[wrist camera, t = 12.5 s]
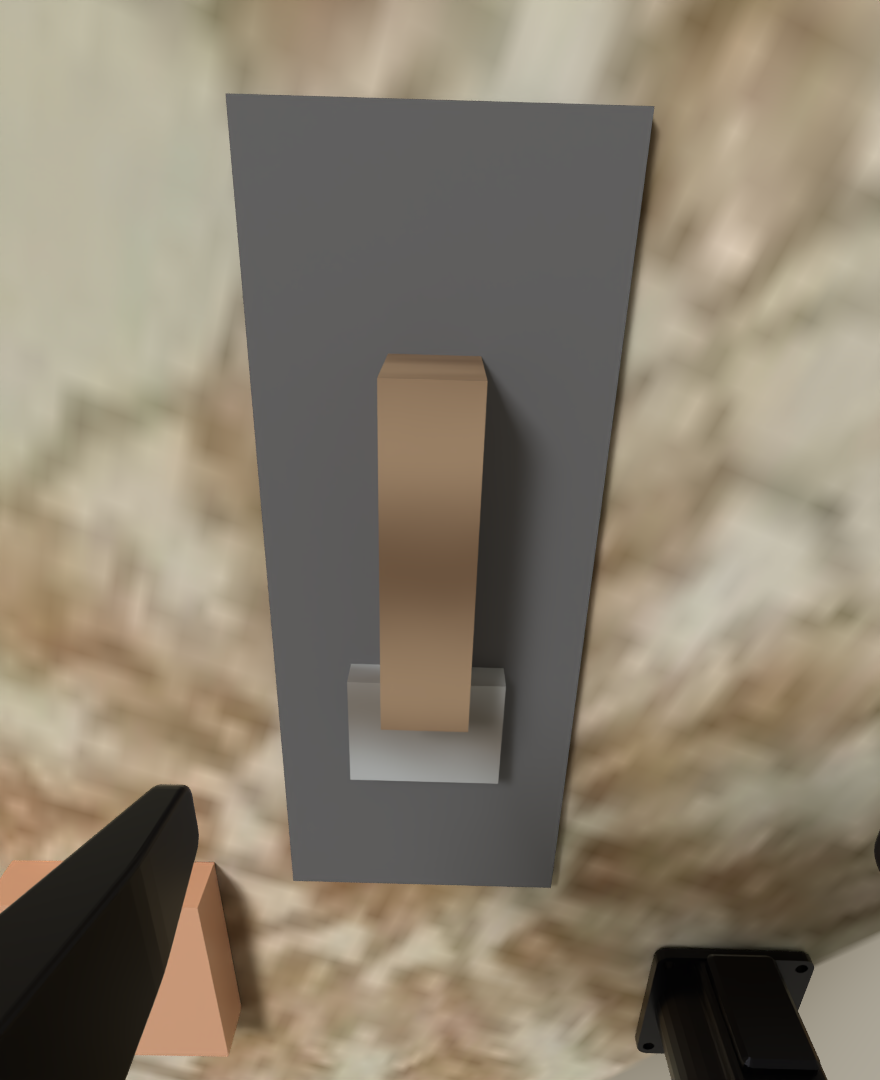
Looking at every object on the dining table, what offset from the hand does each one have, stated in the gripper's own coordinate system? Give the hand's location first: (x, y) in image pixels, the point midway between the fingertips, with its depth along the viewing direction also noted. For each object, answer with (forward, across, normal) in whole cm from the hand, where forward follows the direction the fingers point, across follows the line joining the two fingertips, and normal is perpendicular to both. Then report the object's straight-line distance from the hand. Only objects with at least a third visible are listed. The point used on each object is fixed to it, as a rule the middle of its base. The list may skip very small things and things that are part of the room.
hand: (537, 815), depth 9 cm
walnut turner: (+12, +2, +3) cm, 13 cm away
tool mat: (+13, +2, +3) cm, 13 cm away
